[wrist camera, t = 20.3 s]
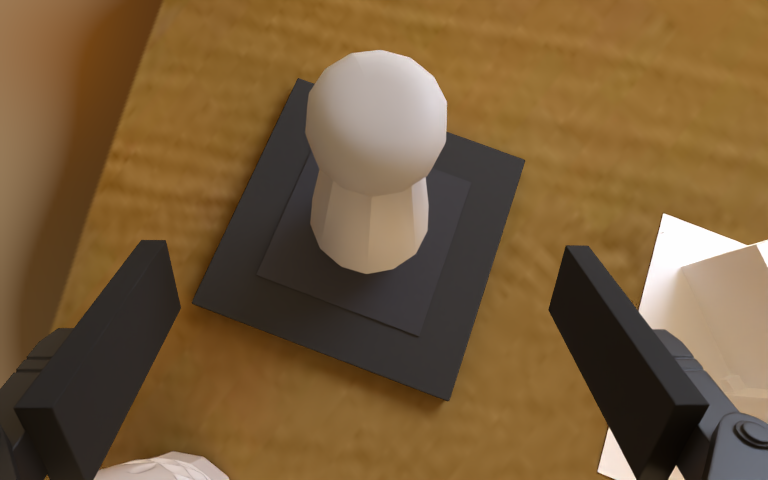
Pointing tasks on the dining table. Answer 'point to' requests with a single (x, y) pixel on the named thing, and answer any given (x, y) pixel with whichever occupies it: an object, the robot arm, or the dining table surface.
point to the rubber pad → (355, 289)
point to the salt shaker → (373, 157)
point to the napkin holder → (708, 316)
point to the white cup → (164, 469)
